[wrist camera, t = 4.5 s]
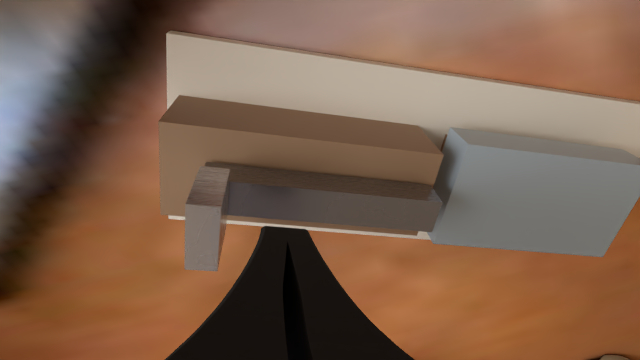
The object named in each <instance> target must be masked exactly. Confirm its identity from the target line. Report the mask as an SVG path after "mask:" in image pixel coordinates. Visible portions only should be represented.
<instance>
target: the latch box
mask: <svg viewBox="0 0 640 360" xmlns="http://www.w3.org/2000/svg"><path fill="white" fill-rule="evenodd" d="M166 49H167V111H166V112H165V114H164V115H163V116H162V118H161V119H160V120H159V164H160V208H161V215H168V216H169V219H178V220H185V204H186V201H187V198H188V196H189V193H190V191H191V188H192V186H193V183H194V181H195V178H196V175H197V173H198V170H199V168H200V166H205V163H206V162H216V163H226V164H235V165H245V166H255V167H264V168H274V169H283V170H293V171H303V172H312V173H322V174H332V175H341V176H351V177H361V178H370V179H380V180H389V181H399V182H409V183H418V184H428V185H431V186H432V188H433V186H434V183H435V180H436V177H437V174H438V171H439V168H440V165H441V162H442V159H443V156H444V155H443V153H442V150H443V147H444V144H445V141H446V138H447V135H448V132H449V129H450V127H454V128H461V129H469V130H477V131H485V132H492V133H500V134H508V135H516V136H523V137H531V138H539V139H547V140H554V141H562V142H570V143H578V144H586V145H593V146H601V147H609V148H617V149H623V150H625V151H627V152H629V153H631V154H633V155H634V156H636V157H638V158H640V102H639V101H633V100H626V99H619V98H613V97H606V96H600V95H593V94H586V93H580V92H573V91H567V90H560V89H553V88H547V87H540V86H534V85H527V84H521V83H514V82H507V81H501V80H494V79H488V78H481V77H474V76H468V75H461V74H455V73H448V72H441V71H435V70H428V69H422V68H415V67H409V66H402V65H395V64H389V63H382V62H376V61H369V60H362V59H356V58H349V57H343V56H336V55H330V54H323V53H316V52H310V51H303V50H297V49H290V48H283V47H277V46H270V45H264V44H257V43H250V42H244V41H237V40H231V39H224V38H218V37H211V36H204V35H198V34H191V33H185V32H178V31H169V32H167V33H166ZM227 223H228V224H240V225H252V226H274V227H286V228H299V229H306V230H314V231H327V232H339V233H352V234H364V235H376V236H389V237H401V238H414V239H426V240H431V239H430V237H429V235H428V234H427V232H422V231H410V230H399V229H387V228H375V227H363V226H351V225H339V224H327V223H315V222H303V221H291V220H279V219H267V218H256V217H244V216H232V215H227Z"/></svg>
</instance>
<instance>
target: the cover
mask: <svg viewBox="0 0 640 360" xmlns="http://www.w3.org/2000/svg"><path fill="white" fill-rule="evenodd" d="M442 153H443V155H444V156H443V159H442V162H441V165H440V168H439V171H438V174H437V177H436V180H435V183H434V186H433V189H434V191H435V192H436V194H437V195H438V196H439V198H440V199H441V201H442V202H443V203H442V205H441V208H440V211H439V214H438V217H437V220H436V222H435V225H434V228H433V231H432V232H427V234H428V235H429V237H430V239H431V241H432V242H433V244H444V245H457V246H469V247H482V248H495V249H507V250H520V251H532V252H545V253H558V254H570V255H583V256H596V257H603V256H604V254H605V253H606V251H607V249H608V248H609V246H610V244H611V243H612V241H613V239H614V238H615V236H616V234H617V233H618V231H619V230H620V228H621V226H622V225H623V223H624V221H625V220H626V218H627V216H628V215H629V213H630V211H631V210H632V208H633V206H634V205H635V203H636V201H637V200H638V198H639V197H640V158H638V157H636V156H634V155H633V154H631V153H629V152H627V151H625V150H623V149H617V148H609V147H601V146H593V145H586V144H578V143H570V142H562V141H554V140H547V139H539V138H531V137H523V136H516V135H508V134H500V133H492V132H485V131H477V130H469V129H461V128H454V127H450V129H449V132H448V135H447V138H446V141H445V144H444V147H443V150H442Z"/></svg>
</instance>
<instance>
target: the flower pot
mask: <svg viewBox="0 0 640 360" xmlns="http://www.w3.org/2000/svg"><path fill="white" fill-rule="evenodd" d="M599 360H630V359H628V358H626V357H623V356H619V355H604V356H602V358H601V359H599Z"/></svg>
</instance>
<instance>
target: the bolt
mask: <svg viewBox="0 0 640 360" xmlns="http://www.w3.org/2000/svg"><path fill="white" fill-rule="evenodd" d="M442 203H443V202H442V201H441V199H440V198H439V196H438V195H437V194H436V192H435V191H434V189H433V188H432V186H431V185H428V184H418V183H409V182H399V181H389V180H380V179H370V178H361V177H351V176H341V175H332V174H322V173H312V172H303V171H293V170H283V169H274V168H264V167H255V166H245V165H235V164H226V163H216V162H206V163H205V166H200V168H199V170H198V173H197V175H196V178H195V181H194V183H193V186H192V188H191V191H190V193H189V196H188V198H187V201H186V204H185V269H187V270H204V271H218V265H219V260H220V255H221V250H222V245H223V240H224V235H225V230H226V223H227V215H232V216H244V217H256V218H267V219H279V220H291V221H303V222H315V223H327V224H339V225H351V226H363V227H375V228H387V229H399V230H410V231H422V232H432V231H433V228H434V225H435V222H436V220H437V217H438V214H439V211H440V208H441V205H442Z"/></svg>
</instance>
